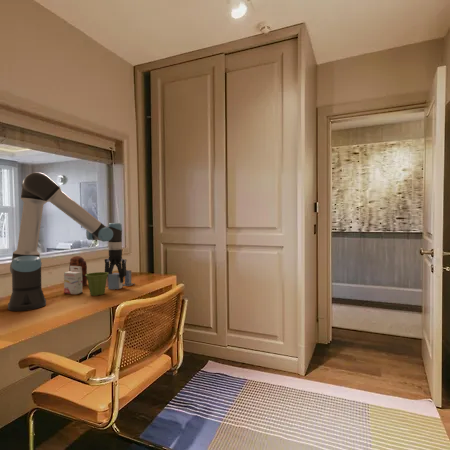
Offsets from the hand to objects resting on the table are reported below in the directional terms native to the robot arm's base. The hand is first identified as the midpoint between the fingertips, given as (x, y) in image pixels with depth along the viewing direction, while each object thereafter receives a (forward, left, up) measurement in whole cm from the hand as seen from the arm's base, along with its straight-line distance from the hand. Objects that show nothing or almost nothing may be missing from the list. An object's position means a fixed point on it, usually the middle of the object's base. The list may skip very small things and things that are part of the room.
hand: (115, 287), depth 183 cm
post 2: (+10, -2, 0) cm, 10 cm away
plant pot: (-15, +1, -1) cm, 15 cm away
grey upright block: (0, 0, 0) cm, 0 cm away
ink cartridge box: (-16, +16, -1) cm, 23 cm away
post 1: (+6, +9, 0) cm, 11 cm away
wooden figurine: (+1, +28, 0) cm, 28 cm away
